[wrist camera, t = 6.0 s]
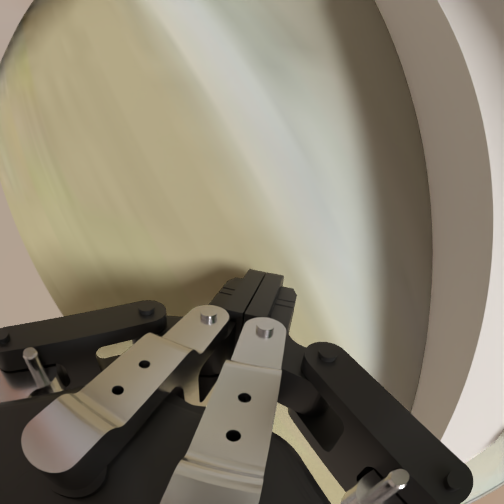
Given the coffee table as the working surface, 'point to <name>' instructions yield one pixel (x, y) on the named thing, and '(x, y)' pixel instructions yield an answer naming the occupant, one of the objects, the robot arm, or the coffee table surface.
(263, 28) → the coffee table surface
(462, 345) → the decorative molding
